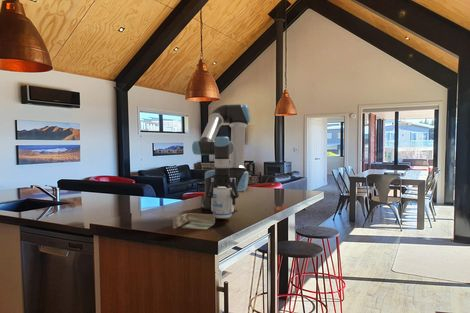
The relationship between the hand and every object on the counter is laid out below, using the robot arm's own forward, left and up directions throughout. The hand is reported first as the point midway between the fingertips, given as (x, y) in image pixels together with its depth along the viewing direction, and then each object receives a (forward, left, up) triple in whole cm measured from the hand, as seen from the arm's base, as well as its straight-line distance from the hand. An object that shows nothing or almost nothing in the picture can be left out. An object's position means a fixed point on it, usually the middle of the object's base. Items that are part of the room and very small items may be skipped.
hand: (222, 211), depth 169 cm
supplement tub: (0, 0, -3) cm, 3 cm away
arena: (+15, -9, -4) cm, 18 cm away
